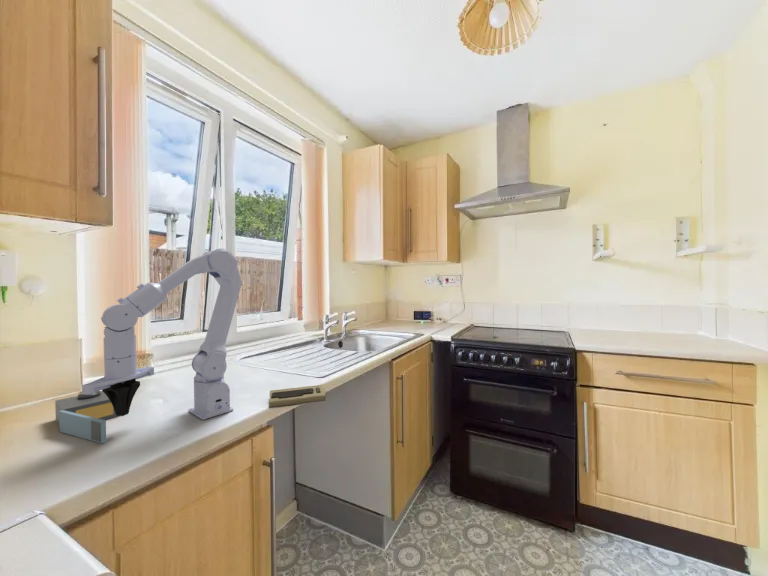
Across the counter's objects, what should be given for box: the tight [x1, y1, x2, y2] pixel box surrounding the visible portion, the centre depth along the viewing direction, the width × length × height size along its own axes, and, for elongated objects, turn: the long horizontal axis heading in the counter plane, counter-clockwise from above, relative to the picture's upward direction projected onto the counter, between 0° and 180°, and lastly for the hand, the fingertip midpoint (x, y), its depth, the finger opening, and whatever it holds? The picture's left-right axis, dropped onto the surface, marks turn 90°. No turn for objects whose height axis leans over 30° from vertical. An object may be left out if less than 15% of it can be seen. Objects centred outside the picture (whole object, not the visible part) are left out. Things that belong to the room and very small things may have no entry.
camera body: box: [54, 390, 119, 426], centre depth 82 cm, size 10×12×6 cm
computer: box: [268, 384, 327, 408], centre depth 94 cm, size 16×8×3 cm, turn 109°
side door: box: [58, 410, 107, 444], centre depth 71 cm, size 16×1×5 cm, turn 69°
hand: (122, 414), depth 73 cm, fingers closed
